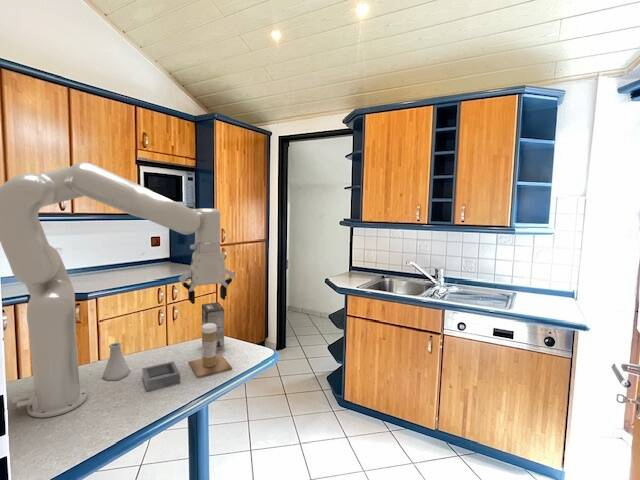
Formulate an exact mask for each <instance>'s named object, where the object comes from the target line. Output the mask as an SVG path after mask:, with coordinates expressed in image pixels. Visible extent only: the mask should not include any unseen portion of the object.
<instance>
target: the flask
mask: <svg viewBox="0 0 640 480" xmlns="http://www.w3.org/2000/svg"><path fill="white" fill-rule="evenodd" d="M122 344H123V343H122V342H112V343H110V344H109V345H108V348H109V356H108V361H107V364H106V367H105V369H104V371H103V375H102V377H101V378H102V379H104V380H106V381H108V382H109V381H119V380H121V379H123V378H126V377H128V376H129V374H130V372H131V369H130V367H129V365H128V363H127V362H126V360H125V358H124V355H123V353H122V348H121V346H122Z"/></svg>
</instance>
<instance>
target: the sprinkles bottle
mask: <svg viewBox="0 0 640 480" xmlns="http://www.w3.org/2000/svg"><path fill="white" fill-rule="evenodd" d="M216 330H217V327H216V324H214V323H207V324H204V325H202V324H201V343H202V344H201V345H202V347H201V350H202V351H201V355H202V358H203V363H202V365H203V366H204V367H212V366H214V365H216V363H217V362H216V355H217V353H216Z"/></svg>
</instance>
